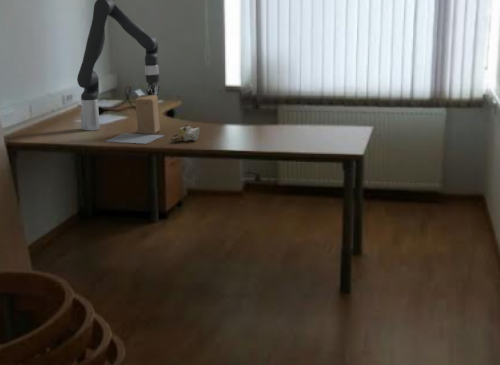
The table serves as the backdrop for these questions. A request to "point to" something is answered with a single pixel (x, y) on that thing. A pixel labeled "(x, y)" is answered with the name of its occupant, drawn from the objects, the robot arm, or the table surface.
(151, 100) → the wooden block
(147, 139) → the mat
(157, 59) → the robot arm
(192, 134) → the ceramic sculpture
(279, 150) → the table surface
